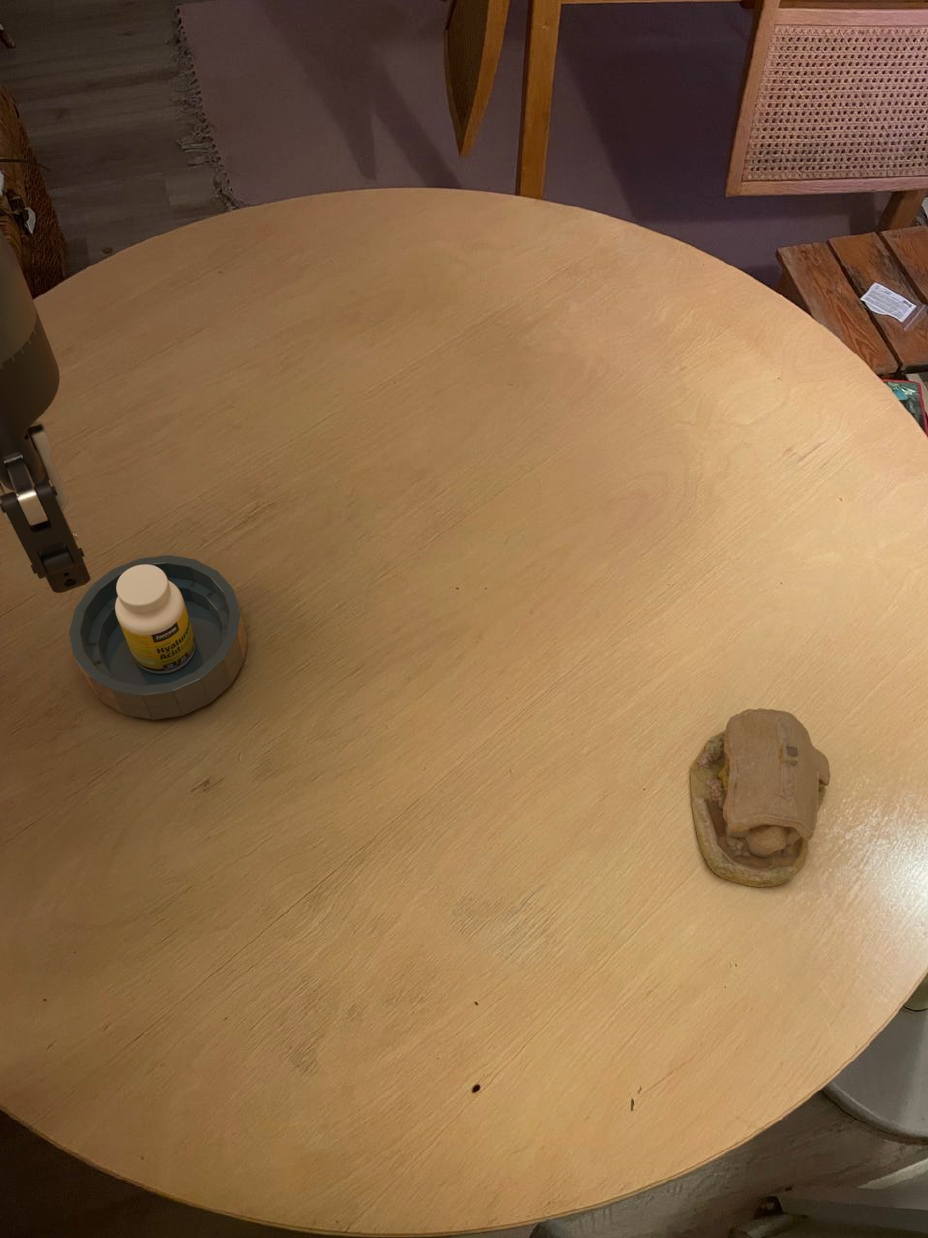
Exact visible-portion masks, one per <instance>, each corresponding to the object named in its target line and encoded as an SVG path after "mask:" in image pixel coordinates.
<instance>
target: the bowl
mask: <svg viewBox="0 0 928 1238" xmlns="http://www.w3.org/2000/svg"><path fill="white" fill-rule="evenodd" d="M137 565H153V566H156V567H158V568H160V569H161V570H162V571H163V572H164V573H165V575H166V577H167V579H168V581H170V582H172V583H173V584H174V585H175V586H176V587H177V588H178V589H179V591H180V592H181V595H182V597H183V600H184V603H185V607H186V610H187V613H188V616H189V620H190V623H191V626H192V629H193V633H194V636H195V642H196V646H195V651H194V654H193V656H192V658H191V659H190V660H189V662H188V663H187V664H186V665H184V666H183V667H182V668H180V669H178V670H176V671H174V672H171V673H165V674H157V673H152V672H149V671H146V670H144V669H143V668H141V667H140V666H139V665H138V664H137V663H136V661H135V659H134V657H133V655H132V653H131V650H130V648H129V645H128V643H127V641H126V638H125V636H124V633H123V631H122V628H121V626H120V624H119V621H118V619H117V616H116V611H115V604H116V600H117V597H118V594H117V590H116V585H117V582H118V579H119V578H120V576H121V575H122V574H123V573H124V572H125V571H126V570H128V569H130V568H132V567H134V566H137ZM237 598H238V597H237V595H236V591H235V589H234V588H233V587H232V586H231V584H230V583H229V582H228V581H227V579H226V578H225V577H224V576H223V574H221V573H220V571H218V570H217V569H215V568H213V567H211V566H209V565H207V564H205V563H203V562H201V561H199V560H197V559H195V558H190V557H183V556H177V555H170V554H166V555H165V554H164V555H157V556H149V557H140V558H136V559H135V560H132V561H130V562H127V563H125V564H122V565H119V566H117V567H114V568H113V569H111V570H109V571H108V572H107V573H106V574H104V575H103V576H102V577H100V578H99V579H98V580H97V581H95V582H94V583H92V584H91V585H90V586H89V588H87V590H86V592H85V593H84V595H83V597H82V598H81V599H80V601H79V602H78V604H77V605H76V607H75V608H74V611H73V614H72V619H71V623H70V627H69V630H68V631H69V632H68V636H69V640H70V641H69V642H70V645H71V650H72V656H73V659H74V661H75V662H76V664H77V666H78V668H79V670H80V672H81V673H82V675H83V677H84V679H85V681H86V683H87V685H88V686H89V687H90V688H91V690H92V692H93V693H94V694H95V695H96V697H97V698H98V699H99V700H100V702H102V704H105V705H107V706H108V707H109V708H112V709H113V710H115V711H117V712H118V713H121V714H122V715H125V716H129V717H135V718H140V719H147V720H162V719H169V718H175V717H176V718H177V717H183V716H186V715H187V714H189V713H192V712H194V711H196V710H198V709H201V708H202V707H203V708H204V707H205V706H207V705H209V704H211V703H212V702H213V701H214V700H216V699H217V698H218V697H219V696H220V695H221V694H222V693H223V692H225V691H226V690H227V689H228V688H229V687H230V686H231V685H232V684H233V682H234V680H235V678H236V676H237V675H238V673H239V672H240V669H241V668H242V666H243V664H244V662H245V656H246V648H247V641H248V635H247V631H246V627H245V623H244V620H243V615H242V612H241V609H240V605H239V601H238V599H237Z"/></svg>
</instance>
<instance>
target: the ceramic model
mask: <svg viewBox="0 0 928 1238" xmlns="http://www.w3.org/2000/svg"><path fill="white" fill-rule="evenodd" d="M689 769H690V770H689V771H690V774H689V775H690V790H691V791H690V792H691V807H692V813H693V820H694V826H695V832H696V837H697V839H698V844H699V849H700V851H701V853H702V855H703V857H704V859H705V862H706V863H707V865H708V867H709V868H710V870H711V871H712V872H713V873H715V875H717V876H718V877H720V878H722V879H725V880H727V881H731V882H734V883H736V884H741V885H745V886H748V887H749V886H750V887H756V888H764V887H773V886H778V885H782V884H784V883H786V882H788V881H790V880H791V879H792V880H793V879H795V876H796V875H797V873H798V872H800V870H801V869H802V867H804V865H805V863H806V861H807V858H808V855H809V851H810V849H809V848H810V846H809V845H810V840H811V839H812V837H813V836H814V833H815V829H816V827H817V820H818V819H817V818H818V813H819V810H820V807H821V805H822V804H823V802H824V797H825V795H826V792H827V789H826V787H828V786H829V785H830V780H831V777H832V776H831V769H830V762H829V759H828V758H827V756H826V754H824V753H823V752H822V751H821V750H819V749H817V748H816V747H815V746H814V745H813V743H812V740H811V737H810V734H809V731H808V729H807V728H806V727H805V725H804V724H803V723H801V721H800V720H799V719H798V718H797V717H796V716H795V715H794V714H792V713H791V712H788V711H785V710H779V709H773V708H769V709H768V708H757V709H755V708H748V709H745V710H742V711H740V712H739V713H736V714H734V715H733V716H730V717H729V719H728V721H727V723H726V726H725V729H724V730H723V731H721V732H719V733H718V734H715V735H712V736H711V737H709V739H708V740H707V741H706V742H705V743H704V746H703V748H702V750H701V751H700V752H699V754H698V755H697V757H696V758H695V759H694V761H693V762H692V764H691V766H690V768H689Z"/></svg>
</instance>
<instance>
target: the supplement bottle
mask: <svg viewBox="0 0 928 1238" xmlns="http://www.w3.org/2000/svg"><path fill="white" fill-rule="evenodd" d="M116 590H117V594H118V597H117V600H116V604H115V611H116V616H117V619H118V621H119V624H120V626H121V628H122V631H123V633H124V636H125V638H126V641H127V643H128V645H129V648H130V650H131V653H132V655H133V657H134V659H135V661H136V663H137V664H138V665H139V666H140V667H141V668H143V669H144V670H146V671H149V672H152V673H157V674H165V673H171V672H174V671H176V670H178V669H180V668H182V667H183V666H184V665H186V664H187V663H188V662H189V660H190V659H191V658H192V656H193V654H194V651H195V646H196V642H195V636H194V633H193V629H192V626H191V623H190V620H189V616H188V613H187V610H186V607H185V603H184V600H183V597H182V595H181V592H180V591H179V589H178V588H177V587H176V586H175V585H174V584H173V583H172V582H170V581H168V579H167V577H166V575H165V573H164V572H163V571H162V570H161V569H160V568H158V567H156V566H153V565H137V566H134V567H132V568H130V569H128V570H126V571H125V572H124V573H123V574H122V575H121V576H120V578H119V579H118V582H117V585H116Z"/></svg>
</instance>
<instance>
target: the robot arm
mask: <svg viewBox="0 0 928 1238" xmlns="http://www.w3.org/2000/svg"><path fill="white" fill-rule="evenodd" d="M59 369H60V368H59V365H58V363H57V359H56V357H55V355H54V352H53V349H52V347H51V343H50V342H49V339H48V336H47V334H46V330H45V328H44V326H43V323H42V320H41V317H40V315H39V312H38V309H37V307H36V305H35V302H34V300H33V297H32V293H31V291H30V289H29V286H28V283H27V280H26V279H25V276H24V273H23V270H22V267H21V266H20V263H19V261H18V259H17V257H16V253H15V252H14V250H13V249H12V247H11V245H10V243H9V241H8V240H7V237H6V236H5V235H4V233H3V231H2V229H1V228H0V512H1V514H2V518H3V520H4V521H5V522H6V523H8V524H10V525H11V526H12V528H13V530H14V532H15V534H16V536H17V538H18V539H19V542H20V543H21V545H22V548H23V549H24V552H25V553H26V555H27V557H28V559H29V561H30V563H31V564H30V568H31V571H32V572H33V574H34V575H35V574H36V575H37V577H38V579H39V580H42V579H44V578H46V581H47V583H48V584H49V586H50V589H51V590H52V592H54V593H56V594H63V593H67V592H68V591H72V590H75V589H77V588H80V587H82V586H85V585H86V584H88V583H89V582H90V581H91V575H90V573H89V570H88V568H87V565H86V564H85V561H84V558H85V556H86V555H85V553H84V550H83V548H82V547H79V544H78V542H77V541H79V537H78V534H77V532H76V530H72V527H71V525H70V522H69V520H68V518H67V516H66V514H65V508H66V507H67V506H68V504H69V497H68V494H67V491H66V488H65V486H64V483H63V481H62V478H61V476H60V474H59V472H58V469H57V467H56V465H55V462H54V459H53V457H52V455H53V452H54V449H53V445H52V442H51V440H50V438H49V434H48V433H47V430H46V428H45V425H44V423H43V421H42V420H40V421H38V419H39V418H40V417H41V416H43V414H44V413H45V412H46V411H47V410H48V409H49V408H50V406H51V405H52V403H53V402H54V400H55V398H56V396H57V393H58V391H59V386H60V379H61V377H60V376H61V375H60V370H59ZM3 486H4V487H5V488H6V489H8V490H10V492H7V493H6V491H5V490H4V487H3Z"/></svg>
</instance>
